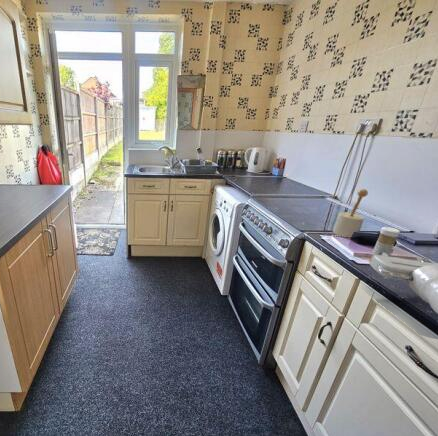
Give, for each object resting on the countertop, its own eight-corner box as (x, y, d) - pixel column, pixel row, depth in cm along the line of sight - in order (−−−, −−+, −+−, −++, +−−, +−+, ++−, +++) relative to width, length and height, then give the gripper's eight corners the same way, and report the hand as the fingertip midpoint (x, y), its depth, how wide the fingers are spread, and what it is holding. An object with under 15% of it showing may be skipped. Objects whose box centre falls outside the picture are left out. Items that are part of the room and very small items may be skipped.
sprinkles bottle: (385, 263, 87) (400, 229, 82) (384, 268, 84) (400, 233, 79) (369, 258, 90) (382, 225, 85) (367, 263, 87) (381, 228, 82)
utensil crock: (353, 232, 113) (369, 186, 105) (361, 240, 105) (379, 191, 97) (330, 228, 116) (344, 184, 108) (336, 236, 108) (352, 188, 100)
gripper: (379, 284, 67) (359, 260, 79) (483, 303, 60) (443, 273, 72) (387, 264, 64) (365, 242, 76) (496, 281, 58) (453, 254, 70)
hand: (404, 257), depth 74 cm, fingers open, 8 cm apart
